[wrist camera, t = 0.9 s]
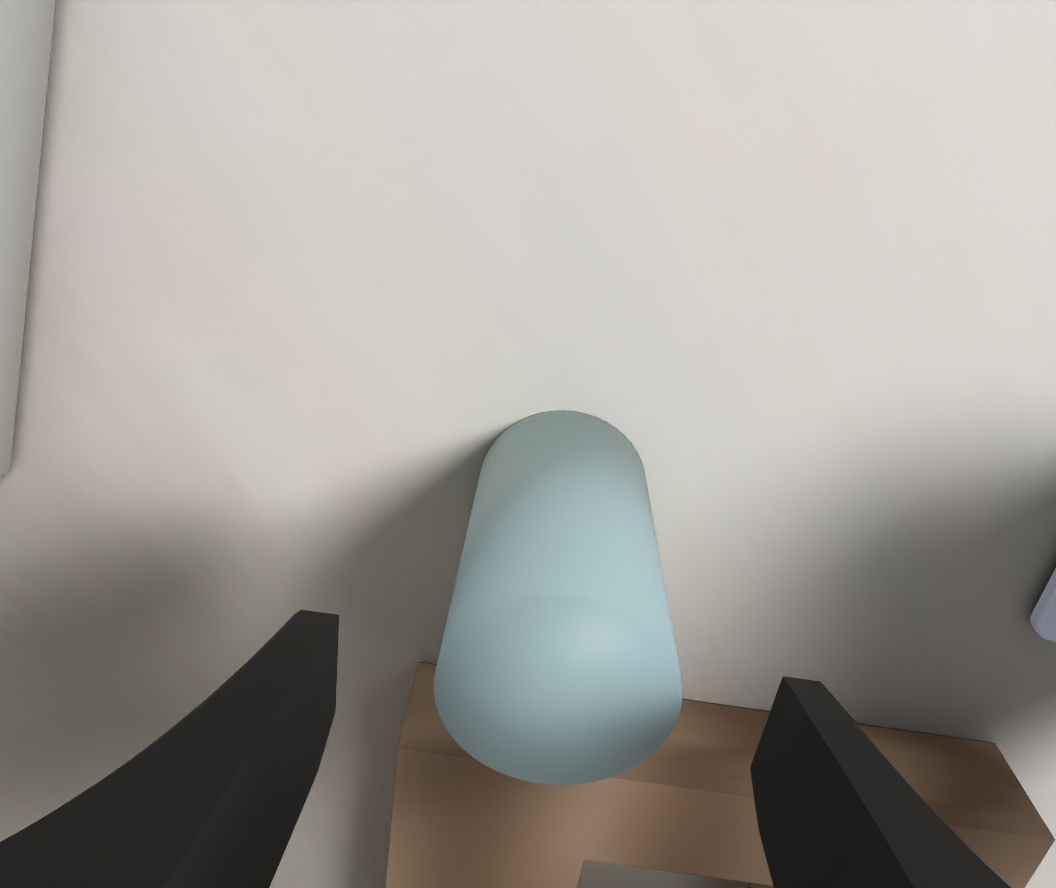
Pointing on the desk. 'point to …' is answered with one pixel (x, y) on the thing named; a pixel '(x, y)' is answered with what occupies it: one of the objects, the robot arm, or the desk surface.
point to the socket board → (663, 806)
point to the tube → (19, 181)
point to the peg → (559, 610)
